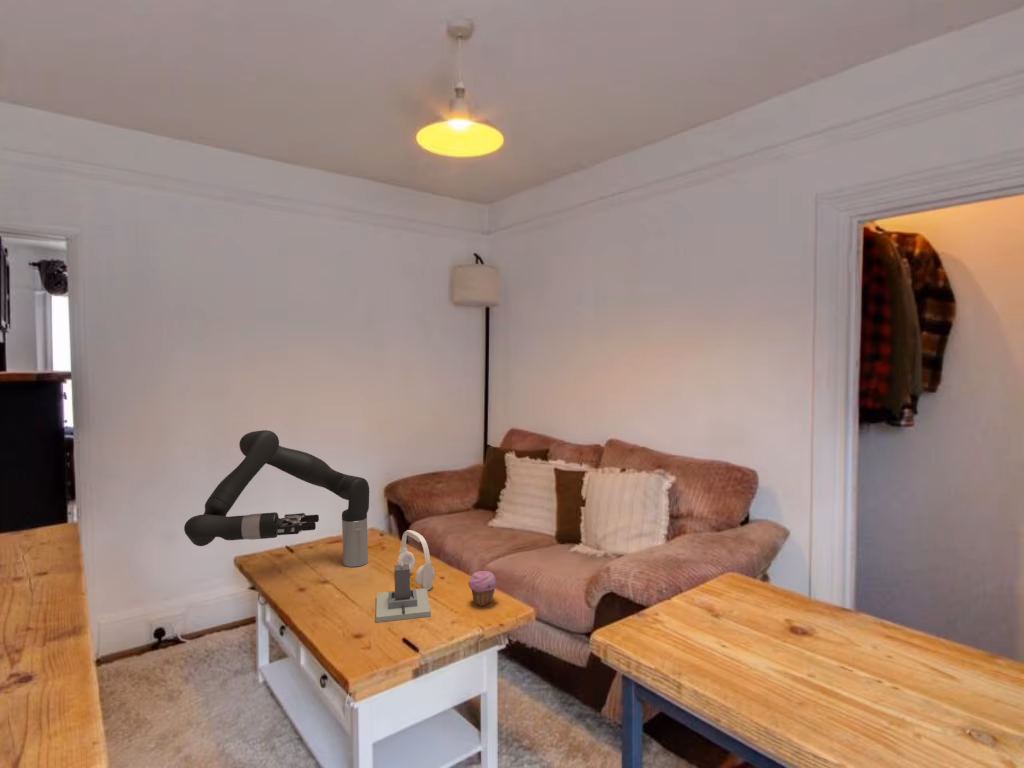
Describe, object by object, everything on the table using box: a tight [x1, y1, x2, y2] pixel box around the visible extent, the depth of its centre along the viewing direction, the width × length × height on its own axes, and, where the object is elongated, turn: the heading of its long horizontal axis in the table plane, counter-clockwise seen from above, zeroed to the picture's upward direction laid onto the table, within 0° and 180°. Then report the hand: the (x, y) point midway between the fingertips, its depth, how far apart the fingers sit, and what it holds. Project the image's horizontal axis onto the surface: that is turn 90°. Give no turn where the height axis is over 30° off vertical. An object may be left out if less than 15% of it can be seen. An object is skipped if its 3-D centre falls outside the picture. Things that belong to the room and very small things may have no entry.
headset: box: [396, 529, 435, 591], centre depth 197 cm, size 20×7×18 cm, turn 36°
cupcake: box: [468, 570, 497, 607], centre depth 180 cm, size 9×9×10 cm
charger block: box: [393, 561, 411, 601], centre depth 178 cm, size 5×5×12 cm
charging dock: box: [375, 587, 432, 623], centre depth 178 cm, size 18×16×4 cm
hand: (317, 521), depth 175 cm, fingers open, 8 cm apart
